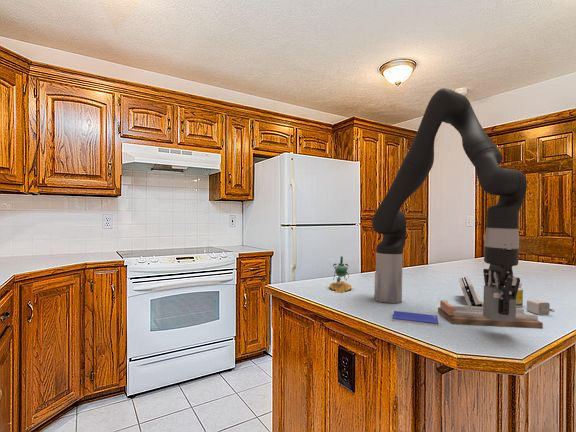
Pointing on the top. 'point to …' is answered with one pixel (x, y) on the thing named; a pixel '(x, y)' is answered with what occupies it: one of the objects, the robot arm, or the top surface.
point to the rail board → (475, 317)
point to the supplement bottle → (519, 296)
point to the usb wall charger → (538, 307)
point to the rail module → (496, 305)
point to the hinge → (469, 292)
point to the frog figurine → (340, 271)
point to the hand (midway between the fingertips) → (499, 311)
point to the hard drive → (415, 318)
